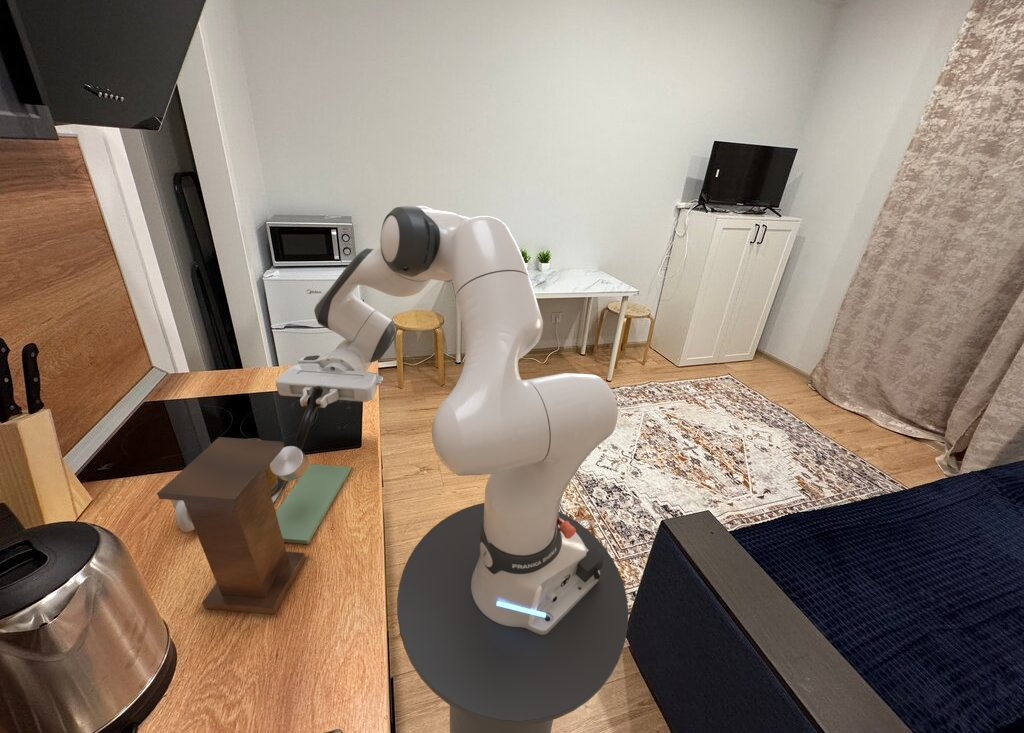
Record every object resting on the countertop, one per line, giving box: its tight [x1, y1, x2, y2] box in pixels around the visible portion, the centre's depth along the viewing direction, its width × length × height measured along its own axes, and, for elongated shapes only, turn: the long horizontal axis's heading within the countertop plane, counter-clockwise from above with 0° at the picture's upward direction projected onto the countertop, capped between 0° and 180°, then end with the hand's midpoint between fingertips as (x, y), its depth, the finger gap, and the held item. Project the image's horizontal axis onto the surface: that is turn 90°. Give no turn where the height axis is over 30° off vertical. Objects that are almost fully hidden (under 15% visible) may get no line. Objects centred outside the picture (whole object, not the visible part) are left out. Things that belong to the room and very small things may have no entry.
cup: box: [170, 500, 195, 533], centre depth 77 cm, size 7×10×9 cm
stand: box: [156, 436, 306, 615], centre depth 64 cm, size 12×11×24 cm
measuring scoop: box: [270, 386, 323, 482], centre depth 79 cm, size 19×6×3 cm
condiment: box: [249, 437, 288, 504], centre depth 84 cm, size 7×8×12 cm
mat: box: [275, 463, 352, 545], centre depth 84 cm, size 20×9×1 cm, turn 178°
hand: (311, 404), depth 82 cm, fingers closed on measuring scoop, 2 cm apart
